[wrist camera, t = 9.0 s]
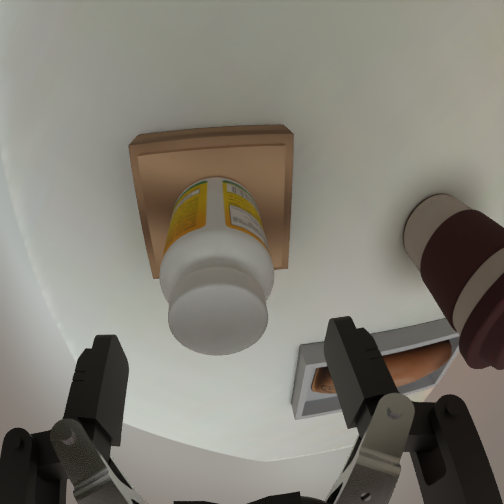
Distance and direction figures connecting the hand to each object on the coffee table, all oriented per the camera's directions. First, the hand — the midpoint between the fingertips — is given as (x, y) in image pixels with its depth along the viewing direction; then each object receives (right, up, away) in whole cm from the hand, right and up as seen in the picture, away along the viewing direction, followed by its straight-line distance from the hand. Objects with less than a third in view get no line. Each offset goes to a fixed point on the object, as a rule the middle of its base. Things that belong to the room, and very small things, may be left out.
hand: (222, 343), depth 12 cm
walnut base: (-2, +8, +12) cm, 14 cm away
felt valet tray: (+18, -11, +27) cm, 34 cm away
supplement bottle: (-1, +6, +9) cm, 11 cm away
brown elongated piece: (+17, -11, +26) cm, 33 cm away
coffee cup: (+18, +6, +16) cm, 25 cm away
